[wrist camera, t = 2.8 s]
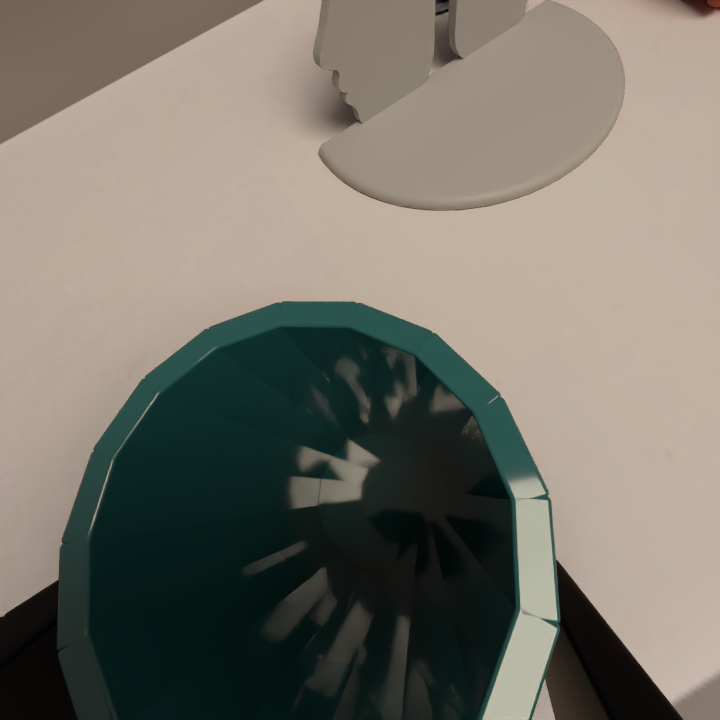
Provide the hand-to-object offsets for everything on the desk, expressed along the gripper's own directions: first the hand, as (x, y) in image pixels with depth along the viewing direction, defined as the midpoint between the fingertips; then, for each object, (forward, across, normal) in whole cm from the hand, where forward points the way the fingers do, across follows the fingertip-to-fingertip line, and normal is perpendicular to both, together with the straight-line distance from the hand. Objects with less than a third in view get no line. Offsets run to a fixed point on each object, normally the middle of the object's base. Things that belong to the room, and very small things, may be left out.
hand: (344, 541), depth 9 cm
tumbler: (+6, 0, +5) cm, 8 cm away
